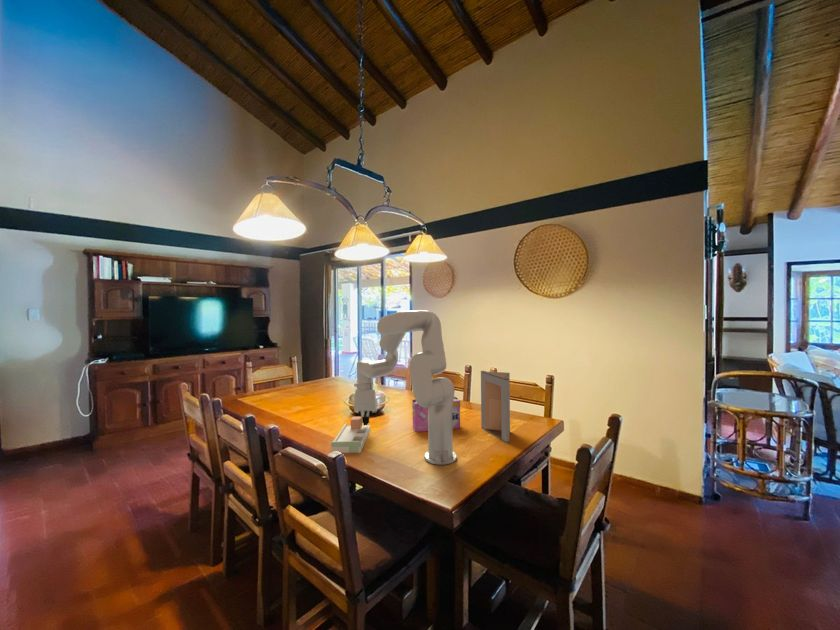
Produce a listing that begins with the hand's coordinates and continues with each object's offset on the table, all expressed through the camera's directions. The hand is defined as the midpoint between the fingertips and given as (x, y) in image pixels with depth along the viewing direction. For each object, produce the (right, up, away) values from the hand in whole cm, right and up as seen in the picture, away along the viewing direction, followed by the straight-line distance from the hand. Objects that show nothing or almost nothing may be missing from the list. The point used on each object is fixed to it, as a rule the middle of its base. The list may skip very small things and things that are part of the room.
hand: (365, 424), depth 166 cm
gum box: (+34, -4, +6) cm, 35 cm away
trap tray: (-4, -4, -10) cm, 12 cm away
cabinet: (+64, -3, -4) cm, 64 cm away
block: (-4, -2, 0) cm, 5 cm away
